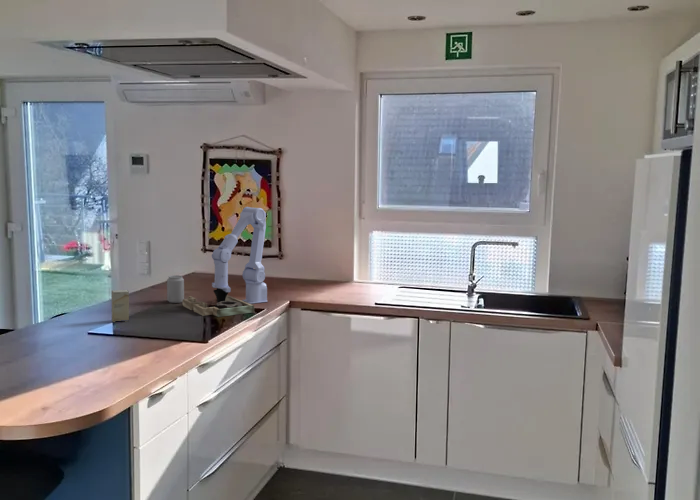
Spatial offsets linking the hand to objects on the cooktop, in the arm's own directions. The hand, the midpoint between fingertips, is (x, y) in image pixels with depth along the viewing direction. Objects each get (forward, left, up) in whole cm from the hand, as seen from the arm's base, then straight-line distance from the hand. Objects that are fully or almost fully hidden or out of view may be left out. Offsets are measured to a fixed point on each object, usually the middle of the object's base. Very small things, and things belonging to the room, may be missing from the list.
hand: (221, 305), depth 280 cm
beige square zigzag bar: (+2, -1, -1) cm, 3 cm away
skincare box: (+45, +2, -1) cm, 45 cm away
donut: (0, +8, -1) cm, 8 cm away
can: (+13, -21, -1) cm, 25 cm away
